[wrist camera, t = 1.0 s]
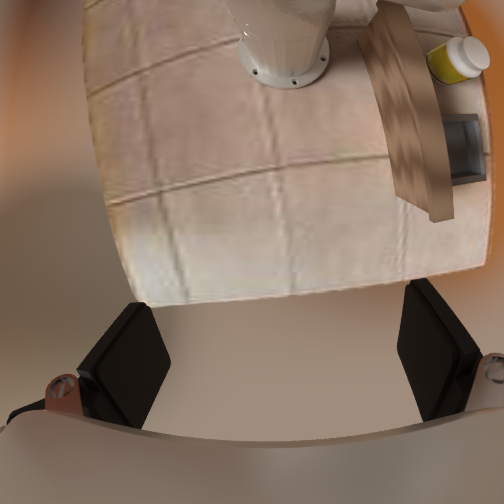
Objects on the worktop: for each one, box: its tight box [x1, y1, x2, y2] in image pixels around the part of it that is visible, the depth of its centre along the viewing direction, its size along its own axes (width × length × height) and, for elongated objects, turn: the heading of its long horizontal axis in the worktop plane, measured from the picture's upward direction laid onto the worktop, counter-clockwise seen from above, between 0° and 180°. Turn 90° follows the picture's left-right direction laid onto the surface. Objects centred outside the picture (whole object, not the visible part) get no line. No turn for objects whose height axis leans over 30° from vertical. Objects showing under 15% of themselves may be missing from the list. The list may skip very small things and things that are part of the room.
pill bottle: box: [425, 36, 490, 85], centre depth 24 cm, size 6×6×11 cm
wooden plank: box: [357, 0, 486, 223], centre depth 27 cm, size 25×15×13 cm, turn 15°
